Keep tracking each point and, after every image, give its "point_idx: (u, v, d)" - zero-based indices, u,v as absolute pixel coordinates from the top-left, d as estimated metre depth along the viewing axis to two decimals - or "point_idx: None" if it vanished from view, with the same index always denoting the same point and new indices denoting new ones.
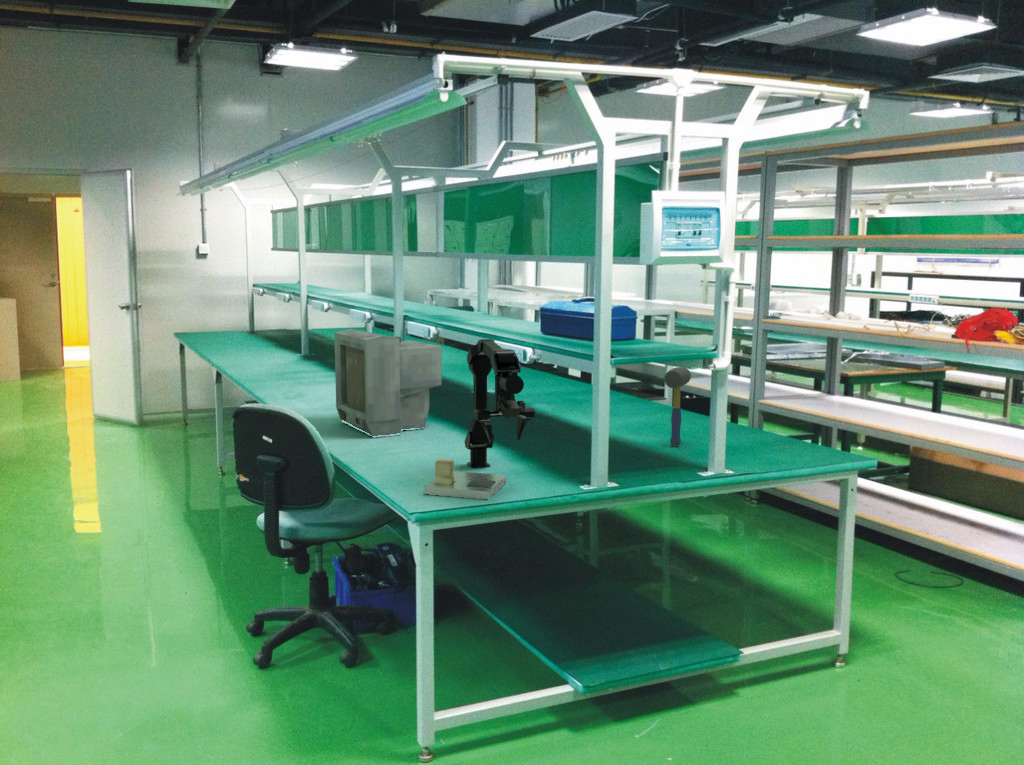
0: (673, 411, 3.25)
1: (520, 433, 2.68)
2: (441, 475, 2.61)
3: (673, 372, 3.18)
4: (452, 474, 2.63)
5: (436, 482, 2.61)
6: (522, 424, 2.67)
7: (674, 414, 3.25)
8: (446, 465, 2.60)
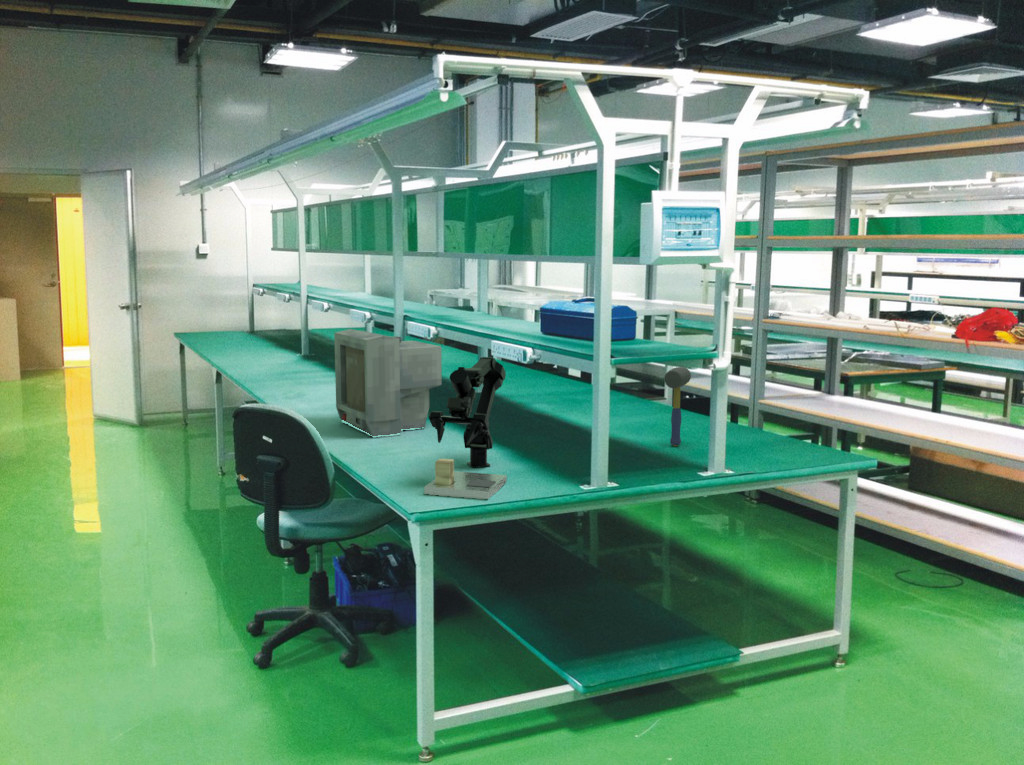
0: (673, 411, 3.25)
1: (468, 436, 2.68)
2: (441, 475, 2.61)
3: (673, 372, 3.18)
4: (452, 474, 2.63)
5: (436, 482, 2.61)
6: (471, 428, 2.69)
7: (674, 414, 3.25)
8: (446, 465, 2.60)
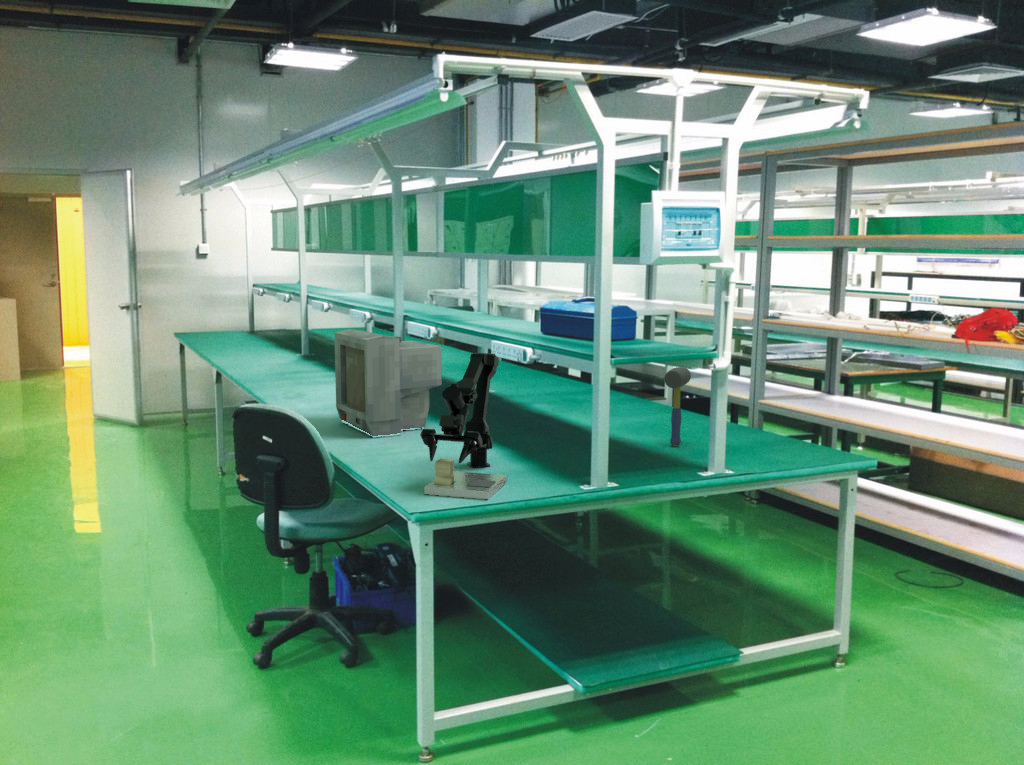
0: (673, 411, 3.25)
1: (461, 455, 2.62)
2: (441, 475, 2.61)
3: (673, 372, 3.18)
4: (452, 474, 2.63)
5: (436, 482, 2.61)
6: (464, 446, 2.63)
7: (674, 414, 3.25)
8: (446, 465, 2.60)
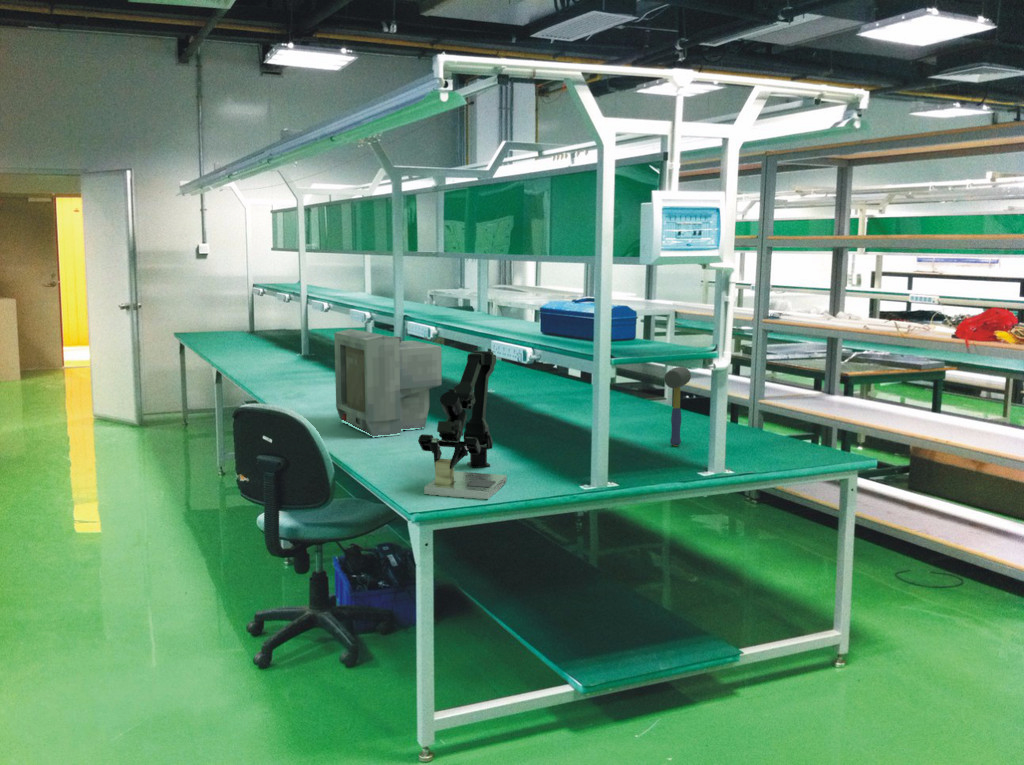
0: (673, 411, 3.25)
1: (452, 460, 2.61)
2: (441, 475, 2.61)
3: (673, 372, 3.18)
4: (452, 474, 2.63)
5: (436, 482, 2.61)
6: (455, 451, 2.62)
7: (674, 414, 3.25)
8: (446, 465, 2.60)
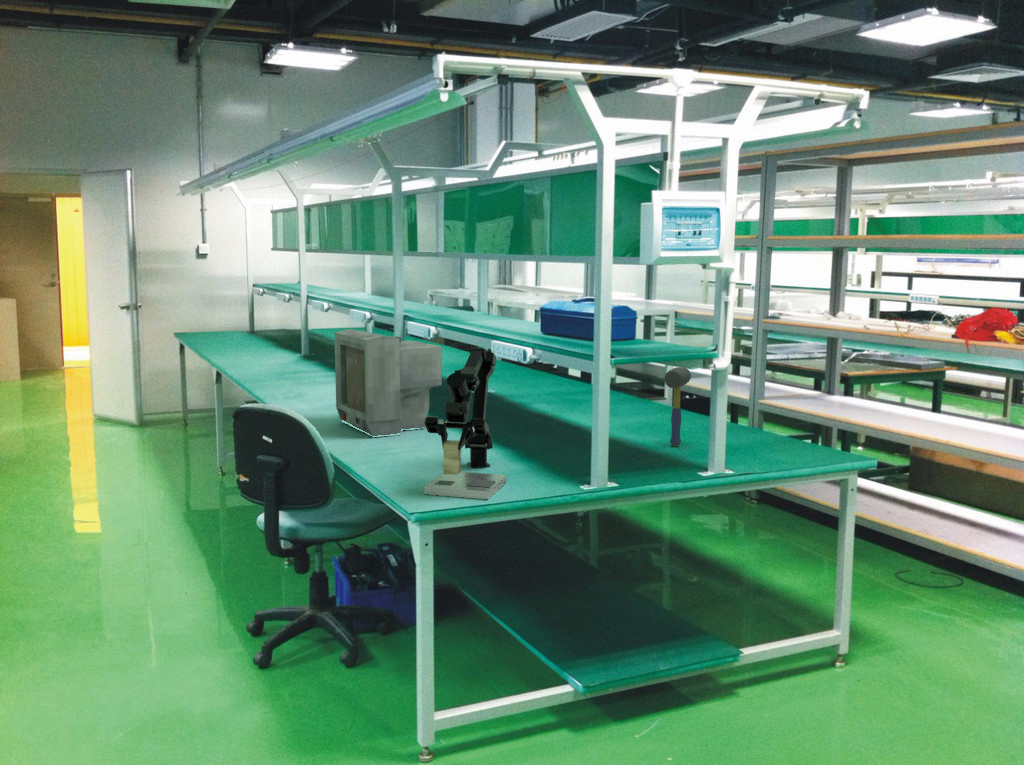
0: (673, 411, 3.25)
1: (460, 441, 2.60)
2: (449, 457, 2.59)
3: (673, 372, 3.18)
4: (460, 455, 2.62)
5: (444, 464, 2.60)
6: (463, 432, 2.61)
7: (674, 414, 3.25)
8: (454, 446, 2.59)
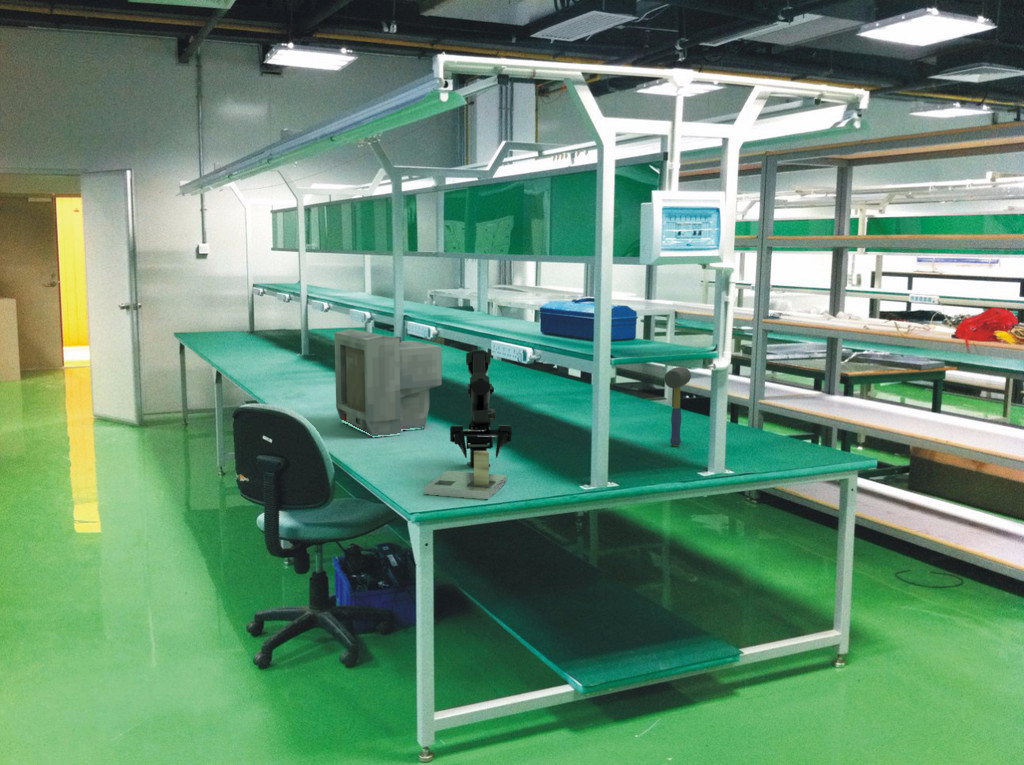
0: (673, 411, 3.25)
1: (497, 449, 2.60)
2: (480, 467, 2.59)
3: (673, 372, 3.18)
4: None
5: (475, 474, 2.59)
6: (499, 440, 2.62)
7: (674, 414, 3.25)
8: (485, 456, 2.59)
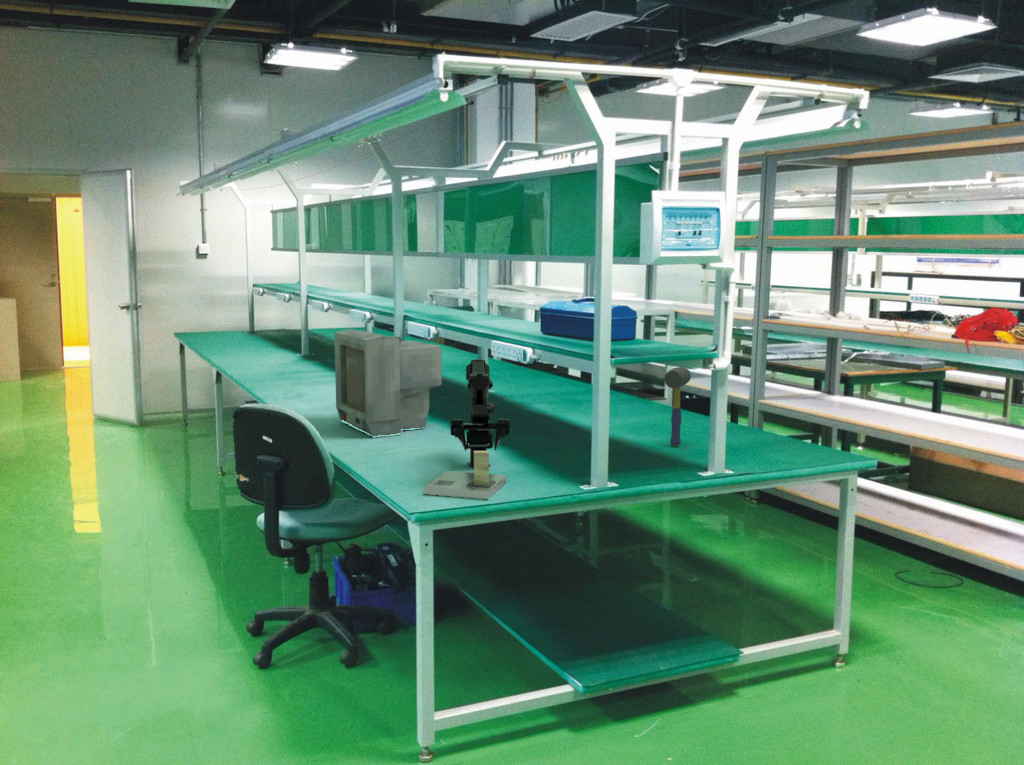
0: (673, 411, 3.25)
1: (496, 442, 2.70)
2: (480, 467, 2.59)
3: (673, 372, 3.18)
4: None
5: (475, 474, 2.59)
6: (497, 433, 2.71)
7: (674, 414, 3.25)
8: (485, 456, 2.59)
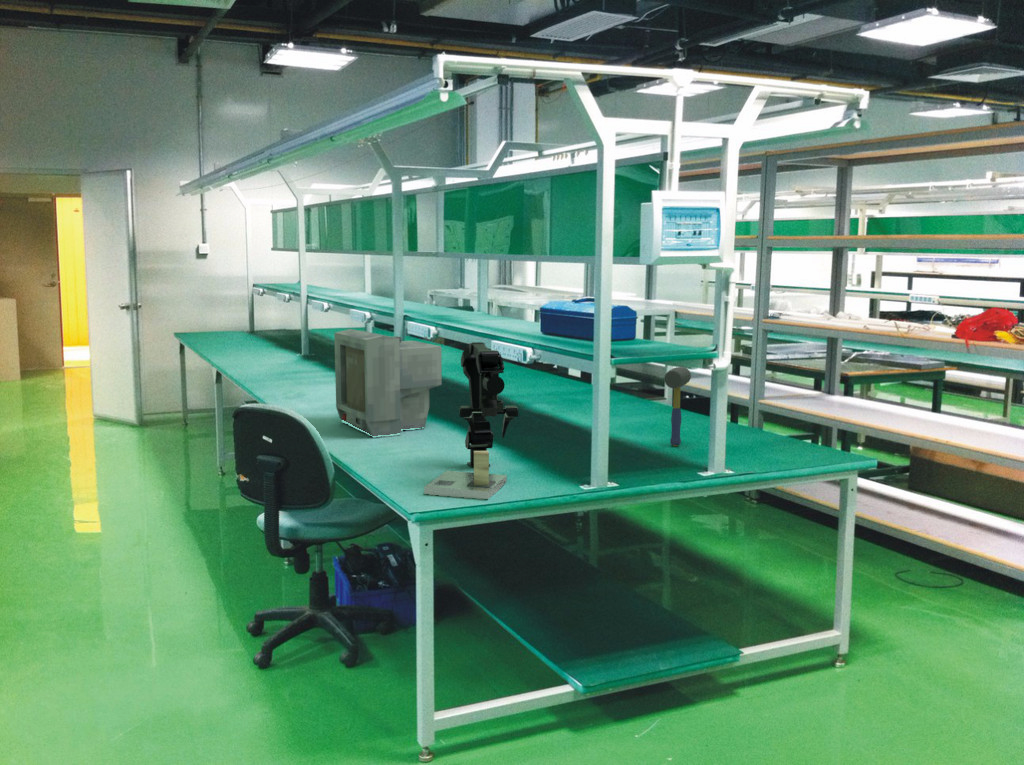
0: (673, 411, 3.25)
1: (504, 431, 2.78)
2: (480, 467, 2.59)
3: (673, 372, 3.18)
4: None
5: (475, 474, 2.59)
6: (505, 423, 2.77)
7: (674, 414, 3.25)
8: (485, 456, 2.59)
